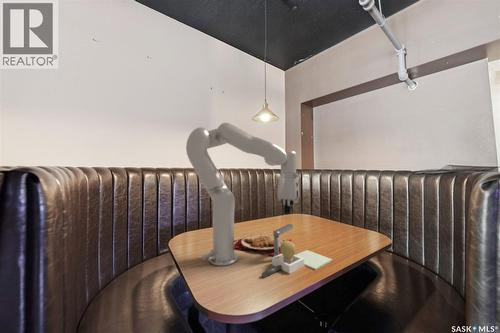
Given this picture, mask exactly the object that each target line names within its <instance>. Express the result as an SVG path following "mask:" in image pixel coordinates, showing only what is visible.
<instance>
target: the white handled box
mask: <svg viewBox="0 0 500 333" xmlns="http://www.w3.org/2000/svg"><path fill="white" fill-rule="evenodd" d="M273 237H274V254H273V257H271V265H272V266H273V267H272V268H269V269H268V270H265V271H263V272H262V273H261V277H262V278H265V277H269V276H270V275H272V274H274V273H276V272H278V271H280V270H282V271H283V272H285V273H287V274H289V275H290V274H292V273H294V272H296V271H298V270H300V269H302V268H303V267H305V265H304V259H303V258H301V257H299V256H296V254H294V256H293V257H292V259H293V260H292V261H293V262H292V263H291V264H288V263H286V262H284V261H283V260H284V259H283V258H284V256H283V255H282V254H279V237H280V236H278V237H276V236H273Z"/></svg>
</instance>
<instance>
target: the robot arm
mask: <svg viewBox="0 0 500 333" xmlns="http://www.w3.org/2000/svg"><path fill="white" fill-rule="evenodd" d="M226 144H228V145H230V146H233V147H234V148H236V149H238V150H240V151H242V152H244V153H246V154H251V155H256V156H259V157H262V158H264V162H265V163H266V164H267V165H268V166H272V167H273V166H280V178H279V180H278V182H277V184H278V185H277V201H279V202H281V203H282V206H283V213H284V215H291V212H292V206H293V205H294V204H296V203H297V204H298V203H299V200H300V185H299V180H298V179H297V178H299V174H298V173H297V152H296V151H294V150H284V149H283V148H281V147H280V146H278V145H276V144H274V143H272V142H271V141H267V140H265V139H262V138H260V137H258V136H254V135H252V134H250V133H248V132H246V131H245V130H242V129H241V128H239V127H237V126H236V125H234V124H231V123H229V122H223V123H221V124H220V125H219V126H218V127H217V128H214V129H210V130H208V129H207V128H205V127H201V126H200V127H197V128H195V129H193V130H192V131H191V132H190V133H189V136H188V138H187V140H186V147H185V149H186V155H187V158H188V160H189V163H190V164H191V166H192V167H193V170H194V172H195V173H196V174H197V176H198V178H199V180H200V183H201V185H202V186H203V187H204V189H205V191H206V192H207V194H208V196H209V197H210V199H211V201H212V249H210V252H208V253H207V254H202V257H201V258H202V261H205V260H208V261H209V263H210V264H212V265H215V266H220V267H222V266H223V267H224V266H229V265H232V264H234V263H236V262H237V261H238V258H239V257H238V254H237V253H236V252H235V249H234V244H235V242H234V241H235V207H236V199H235V198H236V197H235V194H233V192H232V191H231V189H229V188H228V187H227V184H226V183H225V182H224V179H223V178H222V175H221V173H220V171H219V170H218V168H217V166H216V165H215V163H214V162H213V160H212V158H211V156H210V155H209V153H208V149H211V148H212V149H213V148H216V147H219V146H222V145H223V146H224V145H226Z"/></svg>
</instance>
